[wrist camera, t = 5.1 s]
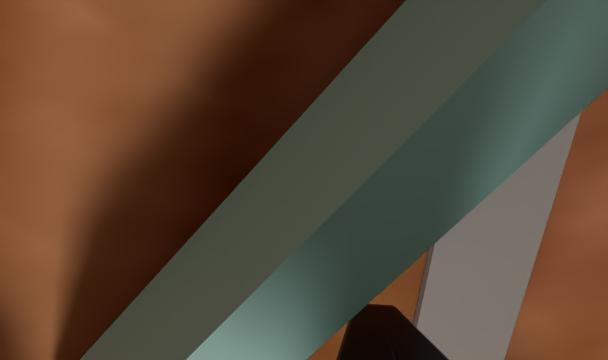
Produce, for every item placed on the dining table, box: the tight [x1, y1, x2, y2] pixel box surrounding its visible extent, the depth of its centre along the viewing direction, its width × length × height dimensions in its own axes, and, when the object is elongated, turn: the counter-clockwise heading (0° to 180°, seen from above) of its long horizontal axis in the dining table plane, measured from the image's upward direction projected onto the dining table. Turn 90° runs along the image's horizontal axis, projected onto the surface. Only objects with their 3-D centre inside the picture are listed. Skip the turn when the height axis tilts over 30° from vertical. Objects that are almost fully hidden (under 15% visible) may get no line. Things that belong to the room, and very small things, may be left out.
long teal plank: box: [80, 0, 608, 360], centre depth 9 cm, size 14×1×4 cm, turn 138°
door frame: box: [413, 112, 581, 360], centre depth 10 cm, size 2×26×5 cm, turn 175°
